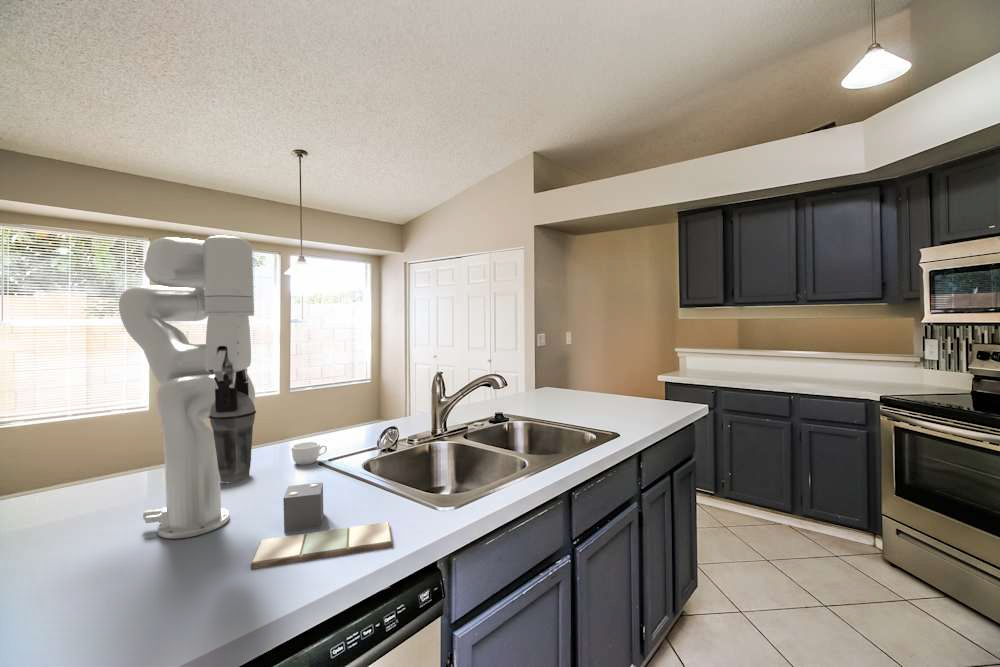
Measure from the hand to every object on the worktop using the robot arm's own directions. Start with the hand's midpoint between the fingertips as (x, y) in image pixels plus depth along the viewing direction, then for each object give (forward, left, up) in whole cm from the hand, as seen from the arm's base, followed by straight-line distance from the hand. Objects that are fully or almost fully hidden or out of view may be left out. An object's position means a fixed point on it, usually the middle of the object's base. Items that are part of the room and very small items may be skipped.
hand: (233, 407), depth 81 cm
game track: (+15, 0, -28) cm, 31 cm away
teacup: (+7, +56, -28) cm, 63 cm away
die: (+10, +12, -28) cm, 32 cm away
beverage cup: (0, 0, -13) cm, 13 cm away
